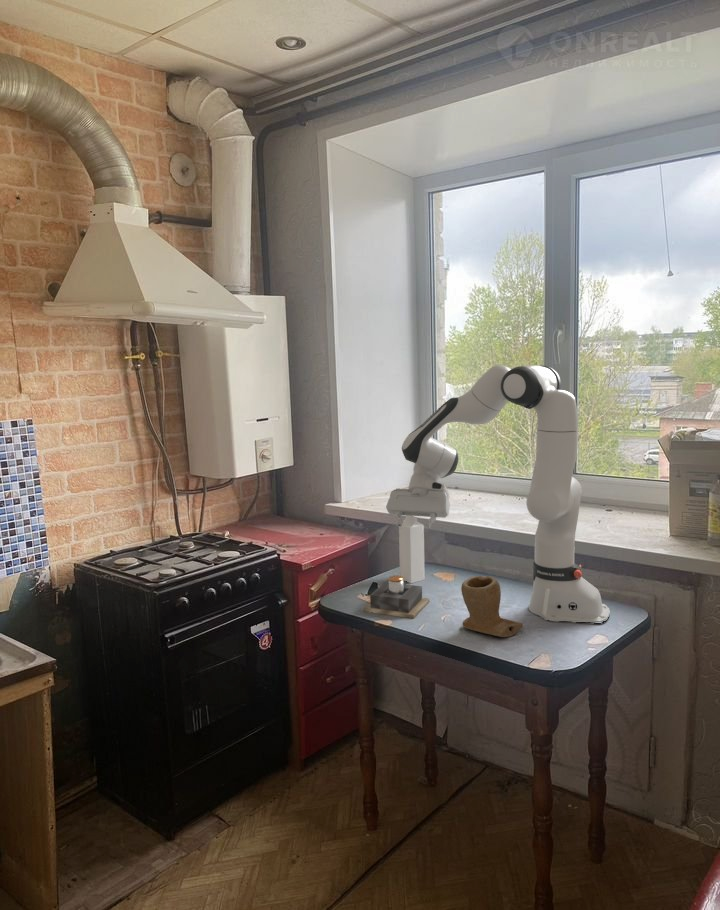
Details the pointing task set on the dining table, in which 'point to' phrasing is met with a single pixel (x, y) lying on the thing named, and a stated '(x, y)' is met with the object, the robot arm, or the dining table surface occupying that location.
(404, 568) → the milk
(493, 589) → the tan boot-shaped piece
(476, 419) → the robot arm
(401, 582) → the glass jar
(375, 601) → the socket board
